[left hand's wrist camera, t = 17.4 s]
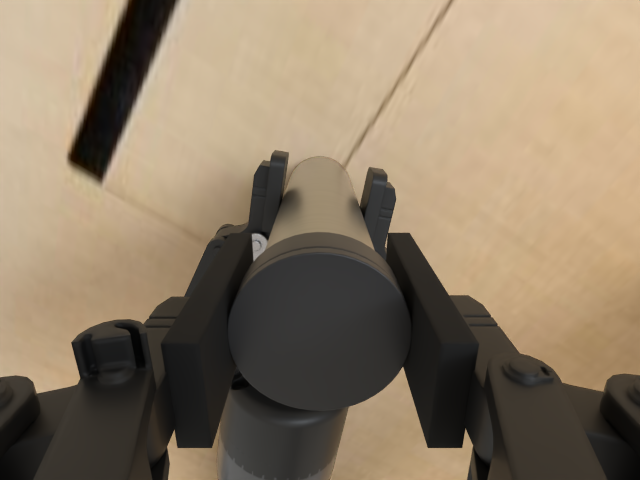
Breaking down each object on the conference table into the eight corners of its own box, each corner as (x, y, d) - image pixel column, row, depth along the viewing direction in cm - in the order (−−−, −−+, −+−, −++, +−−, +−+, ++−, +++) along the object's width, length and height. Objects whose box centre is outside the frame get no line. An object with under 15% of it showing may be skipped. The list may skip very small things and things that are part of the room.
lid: (404, 228, 11) (417, 250, 9) (397, 372, 13) (407, 409, 11) (230, 232, 11) (216, 254, 9) (245, 375, 13) (236, 412, 11)
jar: (341, 224, 27) (370, 399, 12) (282, 209, 27) (231, 370, 11) (358, 165, 26) (416, 275, 10) (296, 149, 25) (259, 239, 10)
